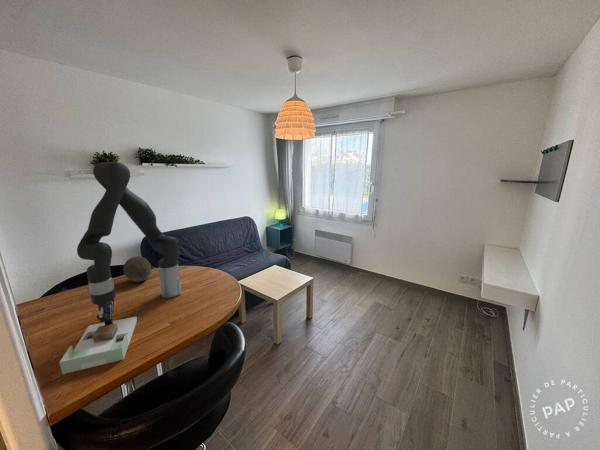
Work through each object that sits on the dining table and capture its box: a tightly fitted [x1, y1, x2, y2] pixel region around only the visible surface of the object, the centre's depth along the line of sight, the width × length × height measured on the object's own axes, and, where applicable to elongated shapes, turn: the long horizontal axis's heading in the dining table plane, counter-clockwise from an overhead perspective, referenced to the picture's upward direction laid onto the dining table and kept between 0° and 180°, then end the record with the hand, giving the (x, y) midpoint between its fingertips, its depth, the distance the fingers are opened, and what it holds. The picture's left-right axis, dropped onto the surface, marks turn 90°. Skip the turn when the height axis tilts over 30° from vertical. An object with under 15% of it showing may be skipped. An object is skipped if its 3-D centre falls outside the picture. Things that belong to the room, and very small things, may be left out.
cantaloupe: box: [122, 255, 152, 283], centre depth 140 cm, size 14×14×15 cm
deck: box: [59, 316, 138, 375], centre depth 92 cm, size 17×24×5 cm
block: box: [93, 323, 118, 343], centre depth 94 cm, size 6×6×3 cm
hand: (109, 326), depth 98 cm, fingers closed
